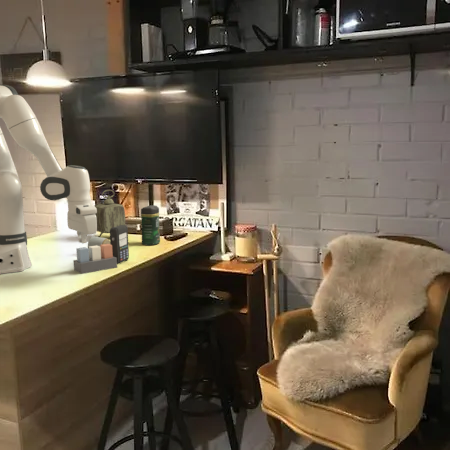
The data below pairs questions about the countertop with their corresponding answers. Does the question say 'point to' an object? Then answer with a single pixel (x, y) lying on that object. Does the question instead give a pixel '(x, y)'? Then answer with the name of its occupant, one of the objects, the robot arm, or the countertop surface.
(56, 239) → the countertop surface
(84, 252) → the key blue
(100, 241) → the ceramic mug
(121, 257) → the card reader
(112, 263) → the grey rectangular tray
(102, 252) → the key rust
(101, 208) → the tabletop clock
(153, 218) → the coffee jar
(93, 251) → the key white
